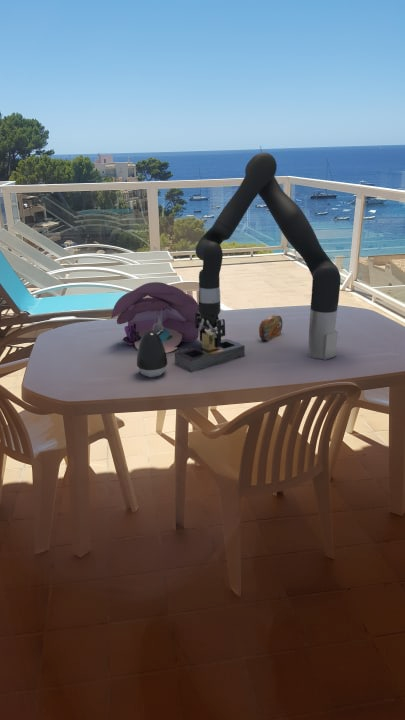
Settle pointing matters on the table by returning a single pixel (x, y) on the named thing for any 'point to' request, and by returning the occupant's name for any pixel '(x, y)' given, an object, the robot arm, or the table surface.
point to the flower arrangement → (158, 314)
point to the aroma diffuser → (151, 354)
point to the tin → (270, 327)
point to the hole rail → (209, 355)
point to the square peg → (208, 342)
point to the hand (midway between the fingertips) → (210, 343)
